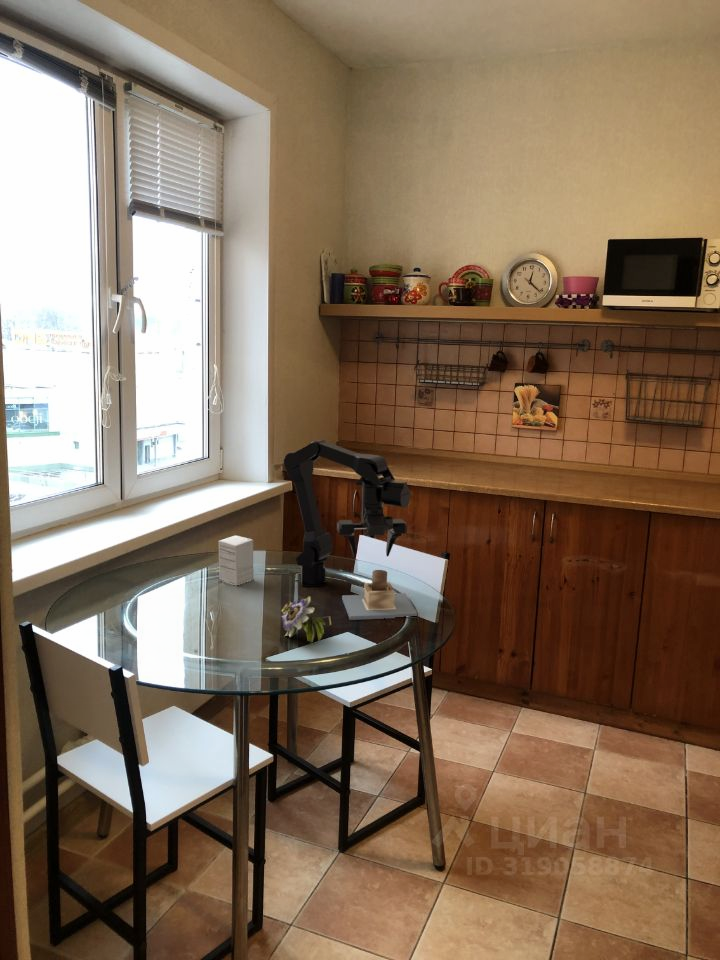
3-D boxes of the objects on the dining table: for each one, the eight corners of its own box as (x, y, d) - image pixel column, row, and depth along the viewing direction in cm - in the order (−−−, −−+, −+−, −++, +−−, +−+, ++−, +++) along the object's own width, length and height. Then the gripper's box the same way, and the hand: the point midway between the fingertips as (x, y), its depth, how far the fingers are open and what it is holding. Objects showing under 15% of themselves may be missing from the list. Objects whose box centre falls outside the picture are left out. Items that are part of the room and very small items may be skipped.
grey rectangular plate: (349, 619, 202) (350, 615, 202) (342, 598, 217) (342, 595, 216) (417, 617, 205) (417, 613, 205) (405, 596, 219) (405, 592, 219)
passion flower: (288, 657, 192) (269, 612, 195) (326, 640, 197) (307, 597, 200) (301, 648, 183) (281, 601, 185) (341, 631, 188) (321, 586, 190)
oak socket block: (368, 609, 207) (368, 592, 206) (364, 599, 213) (364, 583, 212) (394, 608, 208) (394, 591, 207) (389, 598, 215) (389, 582, 213)
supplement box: (236, 574, 234) (235, 534, 231) (254, 580, 230) (254, 539, 227) (218, 581, 228) (217, 540, 225) (236, 587, 224) (236, 545, 221)
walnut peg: (373, 592, 207) (373, 574, 206) (370, 587, 211) (371, 569, 210) (387, 592, 208) (388, 574, 207) (385, 587, 212) (386, 569, 211)
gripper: (343, 510, 203) (341, 567, 206) (412, 508, 206) (410, 564, 209) (337, 499, 214) (336, 554, 217) (403, 498, 217) (401, 552, 220)
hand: (371, 556), depth 216 cm, fingers open, 9 cm apart
